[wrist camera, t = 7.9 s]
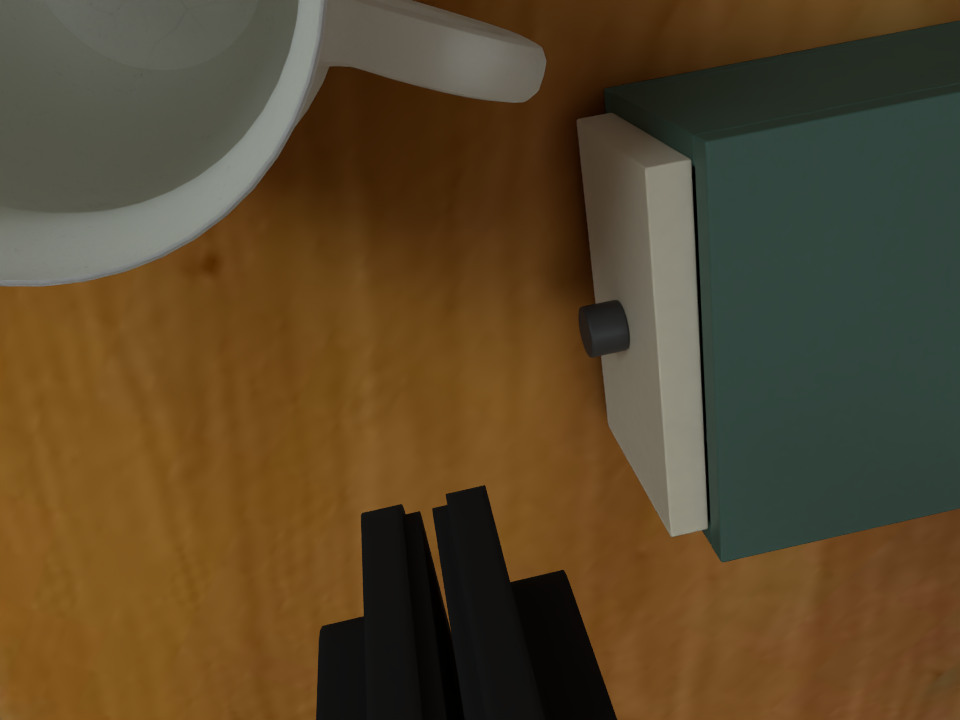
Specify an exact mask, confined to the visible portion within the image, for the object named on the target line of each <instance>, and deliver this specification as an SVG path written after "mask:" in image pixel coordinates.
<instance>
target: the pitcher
mask: <svg viewBox="0 0 960 720" xmlns="http://www.w3.org/2000/svg"><path fill="white" fill-rule="evenodd" d="M546 62H547V61H546V58H545V55H544V52H543V48H542V47H541V46H540V45H538V44H536V43H534V42H533V41H531V40H529V39H527V38H525V37H523V36H521V35H519V34H517V33H514V32H512V31H509V30H506V29H503V28H500V27H497V26H495V25H491V24H488V23H485V22H482V21H479V20H476V19H473V18H469V17H466V16H463V15H460V14H456V13H453V12H450V11H446V10H443V9H440V8H436V7H433V6H430V5H426V4H423V3H420V2H416V1H413V0H0V286H50V285H58V284H67V283H76V282H85V281H89V280H93V279H97V278H101V277H106V276H110V275H114V274H118V273H122V272H125V271H128V270H131V269H133V268H136V267H139V266H141V265H144V264H146V263H149V262H152V261H154V260H157V259H159V258H162V257H164V256H165V255H167V254H169V253H171V252H173V251H175V250H176V249H178V248H180V247H182V246H184V245H186V244H187V243H189V242H191V241H193V240H195V239H196V238H198V237H199V236H200V235H202V234H203V233H204V232H206V231H207V230H208V229H210V228H211V227H212V226H214V225H215V224H216V223H218V222H219V221H220V220H222V219H223V218H224V217H226V216H227V215H228V214H229V213H230V212H231V211H232V210H233V209H234V208H235V207H236V206H237V205H238V204H239V203H240V202H241V201H242V200H243V199H244V198H245V197H246V196H247V195H248V194H249V193H250V192H251V191H252V190H253V189H254V188H255V187H256V185H257V184H258V183H259V182H260V180H261V179H262V178H263V176H264V175H265V174H266V172H267V171H268V170H269V168H270V167H271V166H272V164H273V163H274V162H275V160H276V159H277V158H278V156H279V154H280V153H281V151H282V149H283V147H284V146H285V144H286V142H287V140H288V138H289V137H290V135H291V133H292V131H293V129H294V128H295V126H296V125H297V124H298V122H299V121H300V120H301V118H302V117H303V116H304V114H305V113H306V112H307V110H308V109H309V107H310V105H311V103H312V102H313V100H314V98H315V96H316V94H317V93H318V91H319V89H320V87H321V85H322V84H323V82H324V79H325V77H326V74H327V72H328V69H329V67H330V66H344V67H353V68H357V69H360V70H364V71H367V72H370V73H374V74H377V75H380V76H384V77H387V78H390V79H394V80H397V81H401V82H405V83H408V84H412V85H416V86H419V87H423V88H428V89H432V90H436V91H440V92H444V93H448V94H453V95H458V96H463V97H468V98H474V99H480V100H489V101H500V102H511V103H518V102H525V101H527V100H529V99H530V98H531V97H532V96H533V95H535V94H536V93H537V92H538V91H539V88H540V85H541V82H542V80H543V77H544V72H545V67H546Z"/></svg>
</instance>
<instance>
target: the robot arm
mask: <svg viewBox="0 0 960 720" xmlns="http://www.w3.org/2000/svg"><path fill="white" fill-rule="evenodd" d="M446 499H447V504H448V505H445V506H441V507H436V508H432V510H433V517H434V524H435V530H436V537H437V543H438V550H439V556H440V563H441V569H442V576H443V582H444V589H445V595H446V601H447V608H448V614H449V621H450V627H451V631H450V627H449V623H448V619H447V615H446V611H445V607H444V603H443V599H442V595H441V591H440V587H439V583H438V579H437V575H436V571H435V567H434V563H433V560H432V556H431V552H430V548H429V544H428V540H427V536H426V532H425V528H424V524H423V520H422V516H421V513H420V511H419V512H414V513H410V514H405V511H404V508H403V505H402V504H400V505H396V506H391V507H387V508H383V509H378V510H374V511H369V512H365V513H362V514H361V533H362V567H363V601H364V616H363V617H359V618H355V619H351V620H346V621H342V622H338V623H333V624H329V625H325V626H322V628H321V630H320V636H319V655H318V684H317V712H316V720H617V718H616V715H615V712H614V709H613V706H612V704H611V701H610V698H609V695H608V692H607V689H606V686H605V684H604V681H603V678H602V675H601V672H600V669H599V666H598V663H597V661H596V658H595V655H594V652H593V649H592V646H591V643H590V641H589V638H588V635H587V632H586V629H585V626H584V623H583V620H582V618H581V615H580V612H579V609H578V606H577V603H576V600H575V598H574V595H573V592H572V589H571V586H570V583H569V581H568V578H567V575H566V573H565V572H564V570H561V571H556V572H552V573H548V574H544V575H539V576H535V577H531V578H526V579H522V580H518V581H514V582H510V580H509V576H508V572H507V568H506V564H505V560H504V557H503V553H502V549H501V545H500V541H499V537H498V533H497V529H496V525H495V522H494V518H493V514H492V510H491V506H490V502H489V498H488V494H487V491H486V487H485V485H484V486H479V487H475V488H471V489H466V490H462V491H457V492H453V493H449V494H446Z"/></svg>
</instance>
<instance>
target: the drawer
mask: <svg viewBox="0 0 960 720" xmlns="http://www.w3.org/2000/svg"><path fill="white" fill-rule="evenodd" d="M577 131H578V140H579V150H580V160H581V169H582V179H583V188H584V198H585V207H586V217H587V226H588V236H589V245H590V255H591V265H592V274H593V284H594V293H595V303H596V304H592V305H587V306H582V307H581V308H580V309H579V315H578V318H579V328H580V333H581V338H582V341H583V345H584V348H585V350H586V352H587V354H588V355H589V357H598V356H601V360H602V370H603V379H604V389H605V398H606V408H607V417H608V426H609V428H610V429H611V431H612V433H613V435H614V436H615V438H616V440H617V442H618V444H619V445H620V447H621V449H622V451H623V452H624V454H625V456H626V458H627V460H628V461H629V463H630V465H631V467H632V468H633V470H634V472H635V474H636V476H637V477H638V479H639V481H640V483H641V484H642V486H643V488H644V490H645V492H646V493H647V495H648V497H649V499H650V500H651V502H652V504H653V506H654V508H655V509H656V511H657V513H658V515H659V516H660V518H661V520H662V522H663V524H664V525H665V527H666V529H667V531H668V532H669V534H670V536H671V537H674V536H678V535H683V534H687V533H691V532H696V531H700V530H705V529H708V513H707V491H706V469H705V447H704V440H705V441H706V442H707V426H706V404H705V381H704V358H703V335H702V312H701V289H700V266H699V243H698V220H697V197H696V174H695V167H694V166H692V161H691V159H690V158H688V157H686V156H684V155H683V154H681V153H679V152H678V151H676V150H674V149H673V148H671V147H669V146H668V145H666V144H664V143H663V142H661V141H659V140H658V139H656V138H654V137H653V136H651V135H649V134H647V133H646V132H644V131H642V130H641V129H639V128H637V127H636V126H634V125H632V124H631V123H629V122H627V121H626V120H624V119H622V118H621V117H619V116H617V115H616V114H614V113H607V114H602V115H597V116H591V117H586V118H581V119H577Z"/></svg>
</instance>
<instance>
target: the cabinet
mask: <svg viewBox="0 0 960 720" xmlns="http://www.w3.org/2000/svg"><path fill="white" fill-rule="evenodd" d="M604 97H605V108H606V114H607V113H614V114H616V115H617V116H619V117H621V118H622V119H624V120H626V121H627V122H629V123H631V124H632V125H634V126H636V127H637V128H639V129H641V130H642V131H644V132H646V133H647V134H649V135H651V136H653V137H654V138H656V139H658V140H659V141H661V142H663V143H664V144H666V145H668V146H669V147H671V148H673V149H674V150H676V151H678V152H679V153H681V154H683V155H684V156H686V157H688V158H690V159H691V161H692V166H694V167H695V174H696V197H697V220H698V243H699V266H700V289H701V312H702V335H703V358H704V381H705V404H706V426H707V442H706V441H705V440H704V447H705V469H706V491H707V513H708V529H705V530H702V531H703V533H704V534H705V536H706V538H707V539H708V541H709V542H710V544H711V545H712V548H713V549H714V551H715V553H716V554H717V556H718V557H719V559H720V561H721V562H727V561H731V560H735V559H740V558H744V557H748V556H753V555H757V554H762V553H766V552H770V551H775V550H779V549H784V548H788V547H792V546H797V545H801V544H805V543H810V542H814V541H819V540H823V539H827V538H832V537H836V536H841V535H845V534H849V533H854V532H858V531H862V530H867V529H871V528H876V527H880V526H884V525H889V524H893V523H898V522H902V521H906V520H911V519H915V518H919V517H924V516H928V515H933V514H937V513H941V512H946V511H950V510H955V509H959V508H960V21H955V22H950V23H945V24H939V25H934V26H929V27H924V28H918V29H913V30H908V31H903V32H897V33H892V34H887V35H882V36H876V37H871V38H866V39H861V40H856V41H850V42H845V43H840V44H835V45H829V46H824V47H819V48H814V49H808V50H803V51H798V52H793V53H787V54H782V55H777V56H772V57H767V58H761V59H756V60H751V61H746V62H740V63H735V64H730V65H725V66H719V67H714V68H709V69H704V70H699V71H693V72H688V73H683V74H678V75H672V76H667V77H662V78H657V79H651V80H646V81H641V82H636V83H630V84H625V85H620V86H615V87H610V88H605V89H604Z"/></svg>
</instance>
